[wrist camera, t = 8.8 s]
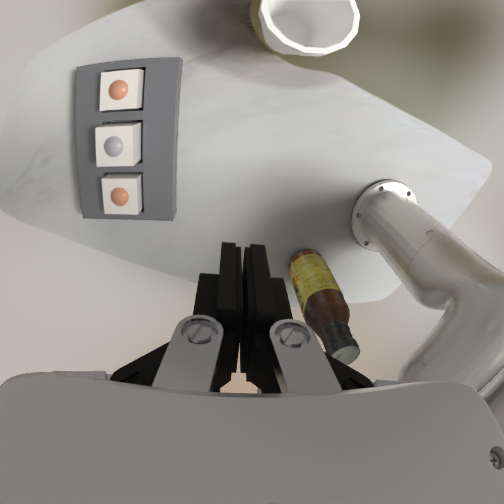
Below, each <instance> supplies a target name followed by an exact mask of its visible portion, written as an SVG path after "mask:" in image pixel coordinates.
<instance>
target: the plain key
mask: <svg viewBox="0 0 504 504" xmlns="http://www.w3.org/2000/svg"><path fill="white" fill-rule="evenodd" d="M95 137H96V164H97V167H108V166H134V165H135V164H136V163H137V162H138V161H140V160H141V159H142V122H130V123H111V124H105V125H102V126H99V127H96V128H95Z"/></svg>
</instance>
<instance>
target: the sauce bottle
mask: <svg viewBox="0 0 504 504" xmlns="http://www.w3.org/2000/svg"><path fill="white" fill-rule="evenodd" d="M289 275H290V278H291V281H292V284H293V287H294V290H295V293H296V296H297V299H298V302H299V305H300V308H301V311H302V313H303V317H304V319H305V322H306V324H307V325H308V326H309V327H311V329H312V330H313V331H314V332H315V333H316V334H317V335H318V336H319V337H320V338H321V340H322V342H323V345H324V347H325V350H326V353H327V354H329V355H330V356H332V357H334V358H335V359H337V360H339V361H340V362H342V363H344V364H345V365H348V364H350V363H352V362H353V361H355V360H356V359H357V358H358V356H359V354H360V349H359V346H358V344H357V342H356V340H355V339H353V337H352V335H351V332H350V329H349V326H348V321H349V314H350V313H349V308H348V305H347V303H346V302H345V300H344V297H343V294H342V292H341V290H340V288H339V286H338V284H337V283H336V281H335V279H334V277H333V275H332V273H331V271H330V269H329V268H328V266H327V264H326V262H325V260H324V259H323V258H322V257H321V255H320V254H319V253H318V252H316V251H313V250H302V251H300V252H298V253H297V254H295V255H294V256H293V257H292V258H291V260H290V262H289Z"/></svg>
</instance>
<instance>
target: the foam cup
mask: <svg viewBox="0 0 504 504" xmlns="http://www.w3.org/2000/svg"><path fill="white" fill-rule="evenodd" d="M258 15H259V18H260V21H261V26H262V34H263V37H264V40H265V43H266V44H267V45H268V46H269V47H270V48H271V49H272V50H274V51H276V52H279V53H281V54H297V55H299V56H323V55H325V54H328V53H331V52H333V51H336V50H339V49H341V48H344V47H346V46H347V45H348V44H349V42H350V41H351V40H352V39H353V38H354V36H355V35H356V34H357V31H358V26H359V19H360V14H359V11H358V8H357V6H356V2H355V0H261V4H260V8H259V13H258Z"/></svg>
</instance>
